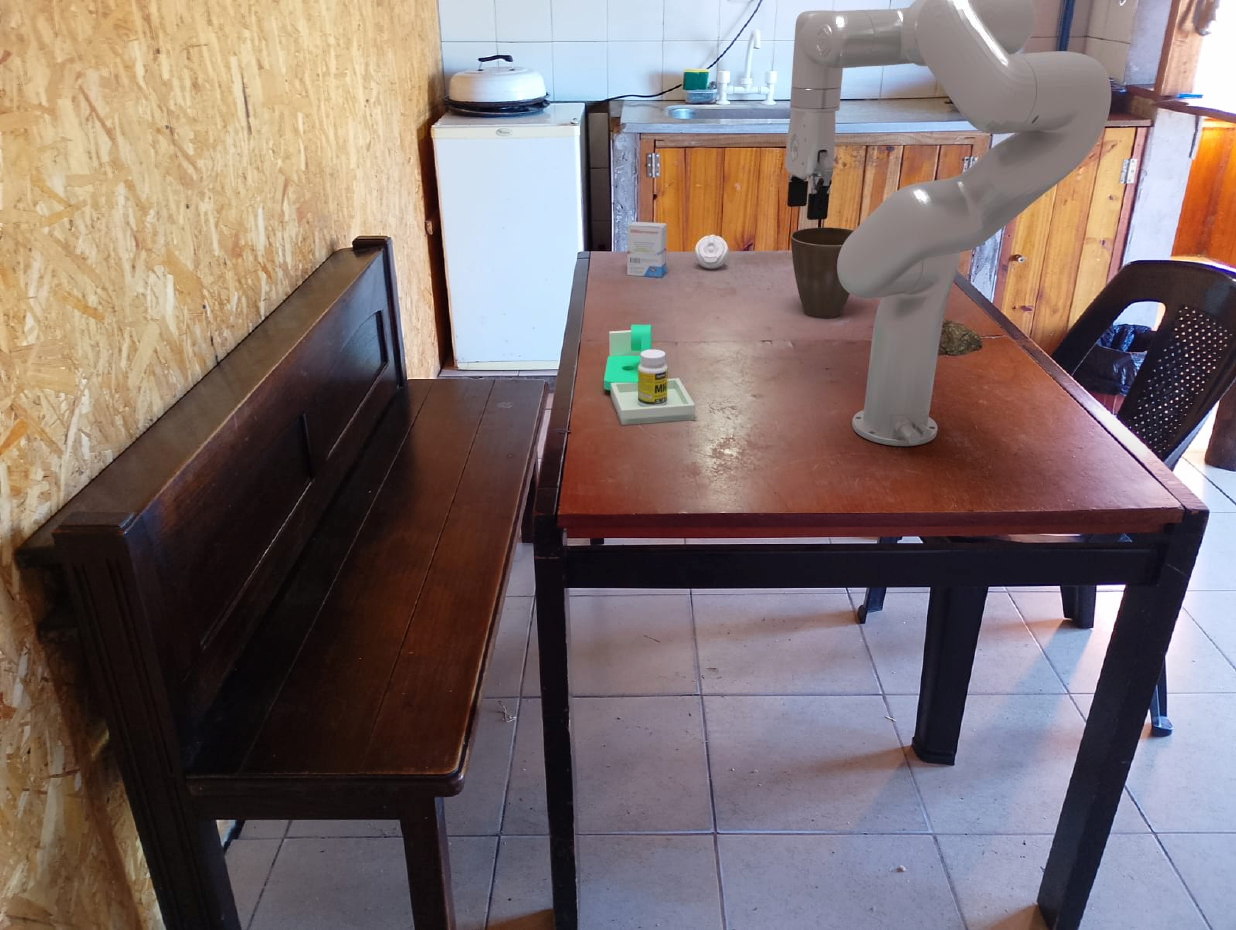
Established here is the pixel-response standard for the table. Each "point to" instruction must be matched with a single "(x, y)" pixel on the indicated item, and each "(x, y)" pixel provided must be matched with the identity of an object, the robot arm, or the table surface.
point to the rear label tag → (621, 344)
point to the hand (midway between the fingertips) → (806, 212)
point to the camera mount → (628, 358)
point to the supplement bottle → (652, 378)
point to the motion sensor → (711, 251)
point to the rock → (957, 339)
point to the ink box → (646, 249)
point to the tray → (634, 413)
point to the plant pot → (819, 270)
